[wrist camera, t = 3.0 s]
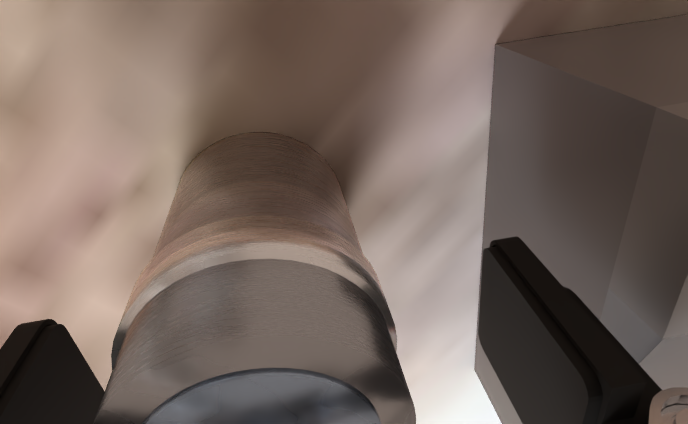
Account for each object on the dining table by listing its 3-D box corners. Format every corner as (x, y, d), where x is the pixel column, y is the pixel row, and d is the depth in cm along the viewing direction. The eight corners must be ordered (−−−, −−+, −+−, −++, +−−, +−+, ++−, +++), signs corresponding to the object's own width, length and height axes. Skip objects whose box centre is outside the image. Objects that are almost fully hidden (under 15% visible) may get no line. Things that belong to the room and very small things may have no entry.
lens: (144, 144, 12) (-5, 387, 5) (336, 113, 13) (424, 301, 6) (199, 291, 15) (147, 573, 8) (355, 261, 16) (429, 506, 9)
